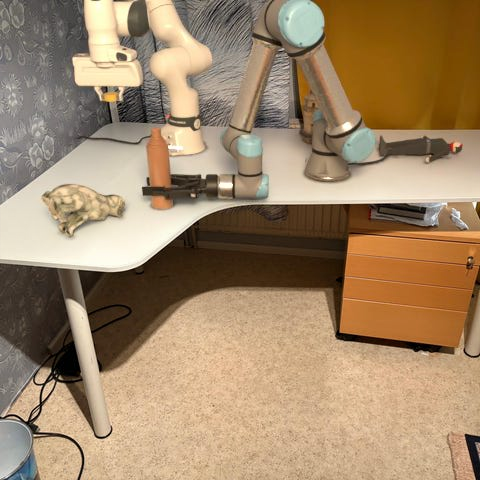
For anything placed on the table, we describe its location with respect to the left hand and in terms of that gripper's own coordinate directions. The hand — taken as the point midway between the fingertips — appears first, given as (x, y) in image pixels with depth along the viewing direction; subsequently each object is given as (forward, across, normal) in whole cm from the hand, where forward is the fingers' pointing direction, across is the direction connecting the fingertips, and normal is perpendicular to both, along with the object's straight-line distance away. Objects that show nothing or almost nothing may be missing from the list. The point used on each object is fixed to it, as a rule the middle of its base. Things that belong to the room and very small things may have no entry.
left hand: (111, 100), depth 163 cm
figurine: (+30, -3, -24) cm, 39 cm away
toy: (+31, +102, +44) cm, 116 cm away
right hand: (+24, +10, -8) cm, 28 cm away
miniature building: (+31, +63, +58) cm, 91 cm away
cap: (-2, 0, 0) cm, 2 cm away
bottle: (+31, +15, -8) cm, 35 cm away
